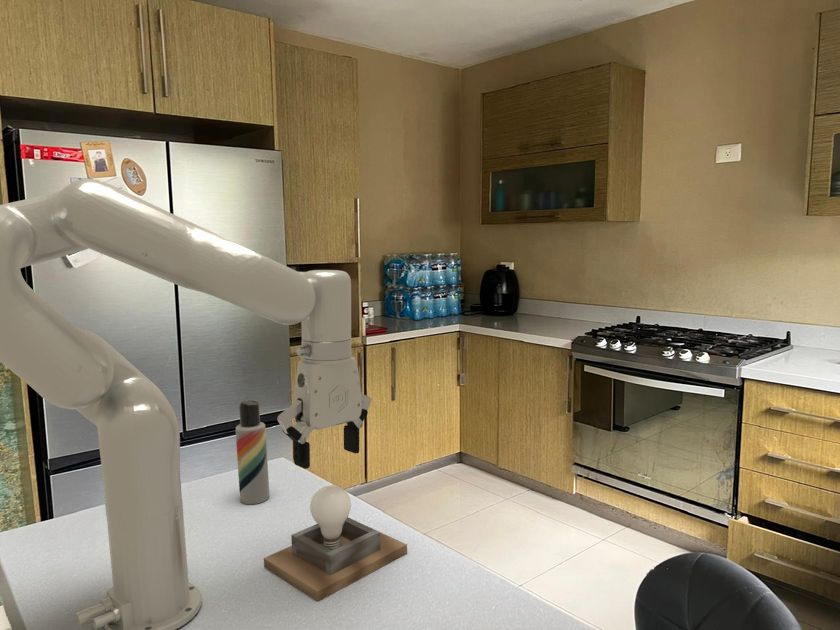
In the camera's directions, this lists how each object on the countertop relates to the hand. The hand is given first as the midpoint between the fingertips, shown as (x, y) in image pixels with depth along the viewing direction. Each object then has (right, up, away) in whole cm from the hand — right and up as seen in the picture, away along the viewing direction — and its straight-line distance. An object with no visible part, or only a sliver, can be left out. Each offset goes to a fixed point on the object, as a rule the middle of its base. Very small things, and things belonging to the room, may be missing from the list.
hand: (327, 458), depth 97 cm
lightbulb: (+1, -16, +2) cm, 16 cm away
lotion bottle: (-18, -14, +27) cm, 36 cm away
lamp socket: (+1, -17, +3) cm, 17 cm away
